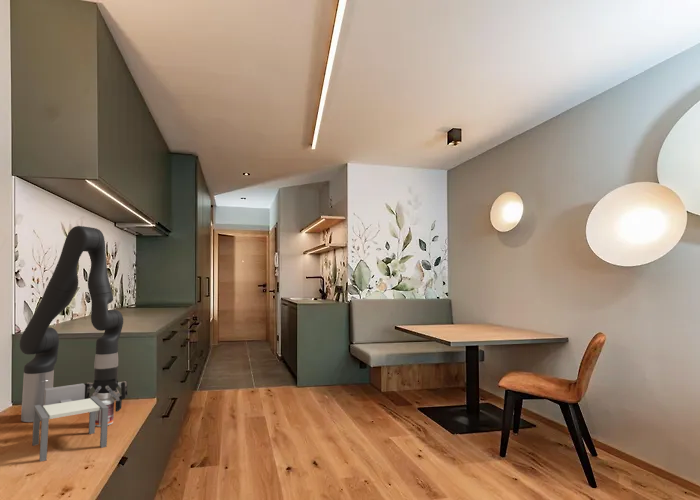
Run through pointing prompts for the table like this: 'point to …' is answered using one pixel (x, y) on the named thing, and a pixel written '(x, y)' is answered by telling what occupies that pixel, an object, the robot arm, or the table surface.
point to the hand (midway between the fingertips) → (104, 411)
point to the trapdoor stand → (41, 414)
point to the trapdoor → (67, 401)
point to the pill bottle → (109, 403)
